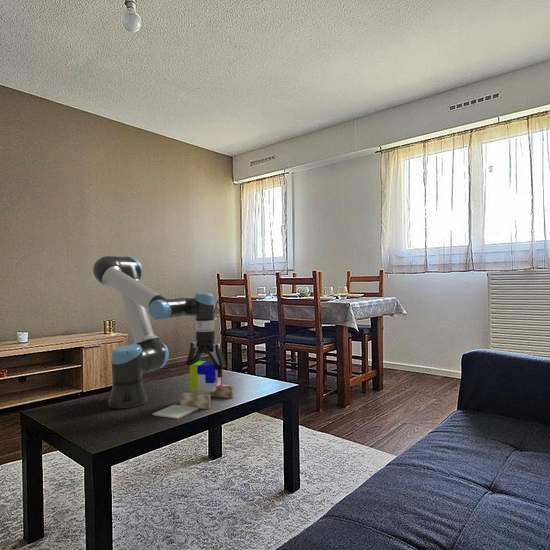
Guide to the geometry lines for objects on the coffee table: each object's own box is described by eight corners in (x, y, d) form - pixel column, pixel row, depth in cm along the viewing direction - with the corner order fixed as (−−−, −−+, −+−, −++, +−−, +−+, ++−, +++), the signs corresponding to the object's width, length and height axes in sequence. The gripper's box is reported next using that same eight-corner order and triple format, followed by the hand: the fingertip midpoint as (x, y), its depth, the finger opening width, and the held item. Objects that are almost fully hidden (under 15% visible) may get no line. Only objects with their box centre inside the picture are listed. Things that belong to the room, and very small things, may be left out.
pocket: (180, 405, 166) (180, 393, 166) (206, 394, 181) (206, 382, 181) (208, 409, 159) (208, 396, 160) (233, 397, 175) (233, 385, 175)
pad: (152, 415, 155) (152, 413, 155) (174, 406, 166) (174, 404, 166) (177, 418, 149) (177, 417, 149) (198, 409, 160) (198, 407, 160)
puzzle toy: (213, 391, 165) (213, 366, 165) (190, 390, 167) (189, 365, 167) (222, 385, 174) (221, 361, 174) (199, 384, 177) (199, 360, 177)
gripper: (176, 330, 173) (177, 383, 173) (223, 332, 162) (225, 389, 162) (188, 328, 180) (189, 379, 179) (234, 330, 169) (235, 384, 169)
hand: (206, 383), depth 171 cm, fingers closed on puzzle toy, 11 cm apart
